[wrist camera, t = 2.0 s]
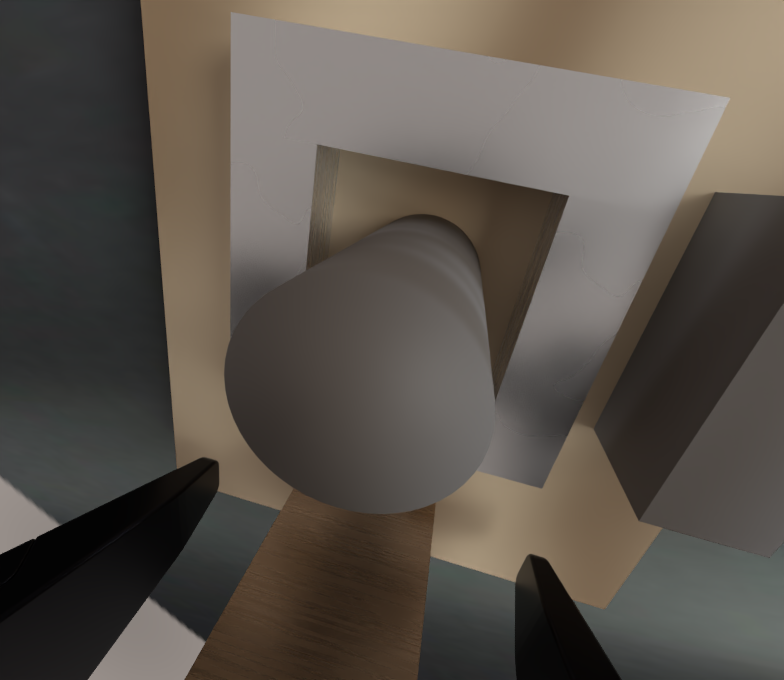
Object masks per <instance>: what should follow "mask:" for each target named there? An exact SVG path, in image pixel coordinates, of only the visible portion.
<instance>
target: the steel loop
mask: <svg viewBox="0 0 784 680" xmlns="http://www.w3.org/2000/svg"><path fill="white" fill-rule="evenodd" d="M729 100H730V98H728V97H722V96H717V95H711V94H705V93H699V92H693V91H688V90H682V89H676V88H670V87H664V86H658V85H653V84H647V83H641V82H635V81H629V80H624V79H618V78H612V77H606V76H600V75H594V74H589V73H583V72H577V71H571V70H565V69H560V68H554V67H548V66H542V65H536V64H531V63H525V62H519V61H513V60H507V59H501V58H496V57H490V56H484V55H478V54H472V53H467V52H461V51H455V50H449V49H443V48H437V47H432V46H426V45H420V44H414V43H408V42H403V41H397V40H391V39H385V38H379V37H373V36H368V35H362V34H356V33H350V32H344V31H339V30H333V29H327V28H321V27H315V26H310V25H304V24H298V23H292V22H286V21H280V20H275V19H269V18H263V17H257V16H251V15H246V14H240V13H234V12H231V186H230V339H231V337H232V334H233V332H234V330H235V328H236V326H237V325H238V323H239V321H240V320H241V318H242V317H243V316H244V314H245V313H246V312H247V311H248V310H249V308H250V307H251V306H252V305H253V304H254V303H255V302H257V301H258V300H259V299H260V298H261V297H262V296H264V295H265V294H267V293H268V292H270V291H271V290H273V289H275V288H276V287H278V286H280V285H281V284H283V283H285V282H287V281H288V280H290V279H292V278H294V277H296V276H297V275H299V274H301V273H303V272H304V271H306V270H308V269H310V268H312V267H313V266H315V265H317V264H319V263H320V262H322V261H324V260H326V259H327V258H328V255H329V246H330V237H331V228H332V220H333V211H334V202H335V193H336V184H337V175H338V166H339V157H340V149H341V150H346V151H351V152H356V153H361V154H366V155H370V156H375V157H380V158H385V159H390V160H395V161H400V162H405V163H410V164H415V165H420V166H424V167H429V168H434V169H439V170H444V171H449V172H454V173H459V174H464V175H469V176H474V177H478V178H483V179H488V180H493V181H498V182H503V183H508V184H513V185H518V186H523V187H528V188H532V189H537V190H542V191H547V192H552V193H553V196H552V199H551V202H550V204H549V207H548V210H547V213H546V216H545V219H544V222H543V225H542V228H541V231H540V234H539V237H538V239H537V242H536V245H535V248H534V251H533V254H532V257H531V260H530V263H529V266H528V269H527V271H526V274H525V277H524V280H523V283H522V286H521V289H520V292H519V295H518V298H517V301H516V304H515V306H514V309H513V312H512V315H511V318H510V321H509V324H508V327H507V330H506V333H505V336H504V338H503V341H502V344H501V347H500V350H499V353H498V356H497V359H496V362H495V365H494V368H493V370H492V378H493V387H494V396H495V414H496V416H495V425H494V433H493V436H492V440H491V443H490V447H489V449H488V451H487V453H486V455H485V457H484V460H483V461H482V463H481V464H480V466H479V467H478V469H477V470H476V471H480V472H483V473H487V474H490V475H494V476H498V477H501V478H505V479H508V480H512V481H515V482H519V483H523V484H526V485H530V486H533V487H537V488H540V489H542V488H543V486H544V484H545V481H546V479H547V477H548V475H549V473H550V471H551V469H552V467H553V465H554V463H555V461H556V459H557V457H558V455H559V452H560V450H561V448H562V446H563V444H564V442H565V440H566V438H567V436H568V434H569V432H570V430H571V428H572V425H573V423H574V421H575V419H576V417H577V415H578V413H579V411H580V409H581V407H582V405H583V403H584V401H585V399H586V396H587V394H588V392H589V390H590V388H591V386H592V384H593V382H594V380H595V378H596V376H597V374H598V372H599V369H600V367H601V365H602V363H603V361H604V359H605V357H606V355H607V353H608V351H609V349H610V347H611V345H612V343H613V340H614V338H615V336H616V334H617V332H618V330H619V328H620V326H621V324H622V322H623V320H624V318H625V316H626V313H627V311H628V309H629V307H630V305H631V303H632V301H633V299H634V297H635V295H636V293H637V291H638V289H639V287H640V284H641V282H642V280H643V278H644V276H645V274H646V272H647V270H648V268H649V266H650V264H651V262H652V260H653V257H654V255H655V253H656V251H657V249H658V247H659V245H660V243H661V241H662V239H663V237H664V235H665V233H666V231H667V228H668V226H669V224H670V222H671V220H672V218H673V216H674V214H675V212H676V210H677V208H678V206H679V204H680V201H681V199H682V197H683V195H684V193H685V191H686V189H687V187H688V185H689V183H690V181H691V179H692V177H693V175H694V172H695V170H696V168H697V166H698V164H699V162H700V160H701V158H702V156H703V154H704V152H705V150H706V148H707V145H708V143H709V141H710V139H711V137H712V135H713V133H714V131H715V129H716V127H717V125H718V123H719V121H720V119H721V116H722V114H723V112H724V110H725V108H726V106H727V104H728V102H729ZM435 507H436V503H434V504H431V505H429V506H426V507H423V508H420V509H416V510H413V511H407V512H401V513H392V514H371V513H361V512H354V511H349V510H345V509H341V508H337V507H334V506H331V505H328V504H325V503H322V502H320V501H317V500H315V499H313V498H311V497H309V496H307V495H305V494H303V493H301V492H300V491H298V490H296V489H294V488H293V490H292V492H291V494H290V495H289V497H288V499H287V501H286V502H285V504H284V506H283V508H282V509H281V511H280V513H279V515H278V516H277V518H276V520H275V522H274V523H273V525H272V527H271V529H270V531H269V532H268V534H267V536H266V538H265V539H264V541H263V543H262V545H261V546H260V548H259V550H258V552H257V553H256V555H255V557H254V559H253V560H252V562H251V564H250V566H249V567H248V569H247V571H246V573H245V574H244V576H243V578H242V580H241V581H240V583H239V585H238V587H237V588H236V590H235V592H234V594H233V595H232V597H231V599H230V601H229V602H228V604H227V606H226V608H225V610H224V611H223V613H222V615H221V617H220V618H219V620H218V622H217V624H216V625H215V627H214V629H213V631H212V632H211V634H210V636H209V638H208V639H207V641H206V643H205V645H204V647H203V648H202V650H201V652H200V653H199V655H198V657H197V659H196V661H195V662H194V664H193V666H192V668H191V669H190V671H189V673H188V675H187V676H186V678H185V680H417V676H418V666H419V657H420V648H421V638H422V629H423V619H424V610H425V601H426V591H427V582H428V572H429V563H430V554H431V544H432V535H433V525H434V516H435Z"/></svg>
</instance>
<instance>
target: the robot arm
mask: <svg viewBox="0 0 784 680" xmlns="http://www.w3.org/2000/svg"><path fill="white" fill-rule="evenodd" d="M218 488H219V463H218V461H217V460H214V459H211V458H207V457H201V458H199V459H197V460H195V461H192V462H190V463H188V464H186V465H184V466H182V467H180V468H178V469H176V470H174V471H172V472H170V473H168V474H166V475H164V476H162V477H159V478H157V479H155V480H153V481H151V482H149V483H147V484H145V485H143V486H141V487H139V488H137V489H135V490H133V491H131V492H129V493H126V494H124V495H122V496H120V497H118V498H116V499H114V500H112V501H110V502H108V503H106V504H104V505H102V506H100V507H98V508H96V509H94V510H91V511H89V512H87V513H85V514H83V515H81V516H79V517H77V518H75V519H73V520H71V521H69V522H67V523H65V524H63V525H61V526H58V527H56V528H54V529H53V530H50V531H48V532H46V533H44V534H42V535H40V536H38V537H37V538H36V540H35V539H32V540H30V541H27V542H25V543H23V544H21V545H19V546H17V547H15V548H13V549H11V550H9V551H7V552H4V553H2V554H0V680H88V679H89V677H90V676H91V674H92V673H93V672H94V670H95V669H96V668H97V666H98V665H99V663H100V662H101V661H102V659H103V658H104V657H105V655H106V654H107V653H108V651H109V650H110V648H111V647H112V646H113V644H114V643H115V642H116V640H117V639H118V637H119V636H120V635H121V633H122V632H123V631H124V629H125V628H126V627H127V625H128V624H129V622H130V621H131V620H132V618H133V617H134V616H135V614H136V613H137V611H138V610H139V609H140V607H141V606H142V605H143V603H144V602H145V601H146V599H147V598H148V596H149V595H150V594H151V592H152V591H153V590H154V588H155V587H156V586H157V584H158V583H159V581H160V580H161V579H162V577H163V576H164V575H165V573H166V572H167V570H168V569H169V568H170V566H171V565H172V564H173V562H174V561H175V560H176V558H177V557H178V555H179V554H180V552H181V551H182V550H183V548H184V546H185V545H186V543H187V542H188V540H189V538H190V537H191V535H192V533H193V532H194V530H195V528H196V526H197V525H198V523H199V521H200V520H201V518H202V516H203V515H204V513H205V511H206V510H207V508H208V506H209V505H210V503H211V501H212V500H213V498H214V496H215V495H216V493H217V491H218ZM515 664H516V676H517V680H622V679H621V678H620V676H619V674H618V673H617V671H616V669H615V668H614V666H613V665H612V663H611V661H610V660H609V658H608V657H607V655H606V653H605V652H604V650H603V649H602V647H601V645H600V644H599V642H598V640H597V639H596V637H595V636H594V634H593V632H592V631H591V629H590V628H589V626H588V624H587V623H586V621H585V619H584V618H583V616H582V615H581V613H580V611H579V610H578V608H577V607H576V605H575V603H574V602H573V600H572V598H571V597H570V595H569V594H568V592H567V590H566V589H565V587H564V586H563V584H562V582H561V581H560V579H559V578H558V576H557V574H556V573H555V571H554V569H553V568H552V566H551V565H550V563H549V562H548V560H547V559H545V558H544V557H541V556H537V555H534V554H528V555H527V556H526V558H525V560H524V562H523V564H522V566H521V568H520V570H519V572H518V574H517V577H516V582H515Z"/></svg>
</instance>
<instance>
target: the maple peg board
mask: <svg viewBox="0 0 784 680" xmlns="http://www.w3.org/2000/svg"><path fill="white" fill-rule="evenodd" d="M141 12H142V24H143V37H144V50H145V63H146V76H147V89H148V102H149V115H150V127H151V140H152V153H153V166H154V179H155V192H156V205H157V218H158V230H159V243H160V256H161V269H162V282H163V295H164V308H165V321H166V333H167V346H168V359H169V372H170V385H171V398H172V411H173V424H174V436H175V449H176V462H177V469H178V468H180V467H182V466H184V465H186V464H188V463H190V462H192V461H195V460H197V459H199V458H201V457H207V458H211V459H214V460H217V461H218V463H219V488H218V491H219V492H222V493H225V494H228V495H232V496H235V497H238V498H241V499H245V500H248V501H251V502H255V503H258V504H261V505H264V506H268V507H271V508H274V509H277V510H281V509H282V508H283V506H284V504H285V502H286V501H287V499H288V497H289V495H290V494H291V492H292V490H293V488H294V489H296V490H298V491H300V492H301V493H303V494H305V495H307V496H309V497H311V498H313V499H315V500H317V501H320V502H322V503H325V504H328V505H331V506H334V507H337V508H341V509H345V510H349V511H354V512H361V513H371V514H392V513H401V512H407V511H413V510H416V509H420V508H423V507H426V506H429V505H431V504H434V503H436V507H435V516H434V525H433V535H432V544H431V554H430V556H431V557H435V558H438V559H441V560H444V561H448V562H451V563H454V564H457V565H461V566H464V567H467V568H471V569H474V570H477V571H480V572H484V573H487V574H490V575H493V576H497V577H500V578H503V579H507V580H510V581H513V582H516V577H517V574H518V572H519V570H520V568H521V566H522V564H523V562H524V560H525V558H526V556H527V555H528V554H534V555H537V556H541V557H544V558H545V559H547V560H548V562H549V563H550V565H551V566H552V568H553V569H554V571H555V573H556V574H557V576H558V578H559V579H560V581H561V582H562V584H563V586H564V587H565V589H566V590H567V592H568V594H569V595H570V597H571V598H572V600H575V601H578V602H582V603H585V604H588V605H592V606H595V607H598V608H601V609H605V608H606V607H607V605H608V604H609V603H610V601H611V600H612V598H613V597H614V596H615V594H616V593H617V591H618V590H619V589H620V587H621V586H622V584H623V583H624V581H625V580H626V579H627V577H628V576H629V574H630V573H631V572H632V570H633V569H634V567H635V566H636V565H637V563H638V562H639V560H640V559H641V558H642V556H643V555H644V553H645V552H646V551H647V549H648V548H649V546H650V545H651V544H652V542H653V541H654V539H655V538H656V536H657V535H658V534H659V532H660V531H661V529H662V528H665V529H668V530H672V531H675V532H679V533H682V534H686V535H690V536H693V537H697V538H700V539H704V540H707V541H711V542H714V543H718V544H722V545H725V546H729V547H732V548H736V549H739V550H743V551H746V552H750V553H754V554H757V555H761V556H764V557H768V558H770V557H771V556H772V554H773V553H774V552H775V551H776V550H777V549H778V548H779V547H780V546H781V545H782V544H783V543H784V0H141ZM231 12H234V13H240V14H246V15H251V16H257V17H263V18H269V19H275V20H280V21H286V22H292V23H298V24H304V25H310V26H315V27H321V28H327V29H333V30H339V31H344V32H350V33H356V34H362V35H368V36H373V37H379V38H385V39H391V40H397V41H403V42H408V43H414V44H420V45H426V46H432V47H437V48H443V49H449V50H455V51H461V52H467V53H472V54H478V55H484V56H490V57H496V58H501V59H507V60H513V61H519V62H525V63H531V64H536V65H542V66H548V67H554V68H560V69H565V70H571V71H577V72H583V73H589V74H594V75H600V76H606V77H612V78H618V79H624V80H629V81H635V82H641V83H647V84H653V85H658V86H664V87H670V88H676V89H682V90H688V91H693V92H699V93H705V94H711V95H717V96H722V97H728V98H730V100H729V102H728V104H727V106H726V108H725V110H724V112H723V114H722V116H721V119H720V121H719V123H718V125H717V127H716V129H715V131H714V133H713V135H712V137H711V139H710V141H709V143H708V145H707V148H706V150H705V152H704V154H703V156H702V158H701V160H700V162H699V164H698V166H697V168H696V170H695V172H694V175H693V177H692V179H691V181H690V183H689V185H688V187H687V189H686V191H685V193H684V195H683V197H682V199H681V201H680V204H679V206H678V208H677V210H676V212H675V214H674V216H673V218H672V220H671V222H670V224H669V226H668V228H667V231H666V233H665V235H664V237H663V239H662V241H661V243H660V245H659V247H658V249H657V251H656V253H655V255H654V257H653V260H652V262H651V264H650V266H649V268H648V270H647V272H646V274H645V276H644V278H643V280H642V282H641V284H640V287H639V289H638V291H637V293H636V295H635V297H634V299H633V301H632V303H631V305H630V307H629V309H628V311H627V313H626V316H625V318H624V320H623V322H622V324H621V326H620V328H619V330H618V332H617V334H616V336H615V338H614V340H613V343H612V345H611V347H610V349H609V351H608V353H607V355H606V357H605V359H604V361H603V363H602V365H601V367H600V369H599V372H598V374H597V376H596V378H595V380H594V382H593V384H592V386H591V388H590V390H589V392H588V394H587V396H586V399H585V401H584V403H583V405H582V407H581V409H580V411H579V413H578V415H577V417H576V419H575V421H574V423H573V425H572V428H571V430H570V432H569V434H568V436H567V438H566V440H565V442H564V444H563V446H562V448H561V450H560V452H559V455H558V457H557V459H556V461H555V463H554V465H553V467H552V469H551V471H550V473H549V475H548V477H547V479H546V481H545V484H544V486H543V488H542V489H540V488H537V487H533V486H530V485H526V484H523V483H519V482H515V481H512V480H508V479H505V478H501V477H498V476H494V475H490V474H487V473H483V472H480V471H476V470H477V469H478V467H479V466H480V464H481V463H482V461H483V460H484V457H485V455H486V453H487V451H488V449H489V447H490V443H491V440H492V436H493V433H494V425H495V416H496V414H495V396H494V387H493V378H492V370H493V368H494V365H495V362H496V359H497V356H498V353H499V350H500V347H501V344H502V341H503V338H504V336H505V333H506V330H507V327H508V324H509V321H510V318H511V315H512V312H513V309H514V306H515V304H516V301H517V298H518V295H519V292H520V289H521V286H522V283H523V280H524V277H525V274H526V271H527V269H528V266H529V263H530V260H531V257H532V254H533V251H534V248H535V245H536V242H537V239H538V237H539V234H540V231H541V228H542V225H543V222H544V219H545V216H546V213H547V210H548V207H549V204H550V202H551V199H552V196H553V193H552V192H547V191H542V190H537V189H532V188H528V187H523V186H518V185H513V184H508V183H503V182H498V181H493V180H488V179H483V178H478V177H474V176H469V175H464V174H459V173H454V172H449V171H444V170H439V169H434V168H429V167H424V166H420V165H415V164H410V163H405V162H400V161H395V160H390V159H385V158H380V157H375V156H370V155H366V154H361V153H356V152H351V151H346V150H341V149H340V157H339V166H338V175H337V184H336V193H335V202H334V211H333V220H332V228H331V237H330V246H329V255H328V258H327V259H326V260H324V261H322V262H320V263H319V264H317V265H315V266H313V267H312V268H310V269H308V270H306V271H304V272H303V273H301V274H299V275H297V276H296V277H294V278H292V279H290V280H288V281H287V282H285V283H283V284H281V285H280V286H278V287H276V288H275V289H273V290H271V291H270V292H268V293H267V294H265V295H264V296H262V297H261V298H260V299H259V300H258V301H257V302H255V303H254V304H253V305H252V306H251V307H250V308H249V310H248V311H247V312H246V313H245V314H244V316H243V317H242V318H241V320H240V321H239V323H238V325H237V326H236V328H235V330H234V332H233V334H232V337H231V339H230V186H231Z"/></svg>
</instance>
